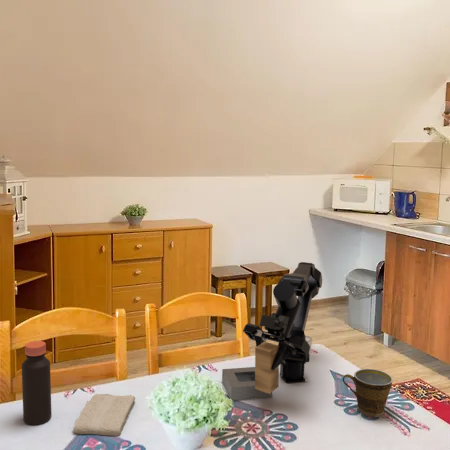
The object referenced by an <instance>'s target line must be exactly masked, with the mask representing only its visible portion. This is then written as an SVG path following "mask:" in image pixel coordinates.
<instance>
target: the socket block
mask: <svg viewBox="0 0 450 450" xmlns="http://www.w3.org/2000/svg"><path fill="white" fill-rule="evenodd" d="M221 372H222V373H221V382H222V385H223V387H224V389H225V391H226V393H227V395H228V397H229V399H230V398H231V399H232V400H233V401H232V402H235V401H247V400H258V399H259V400H261V399H272V398H273V392H272V393H270V394H269V393H266V392H263V391H260V390H257V389H255V366H250V367H249V366H248V367H247V366H246V367H235V368H234V367H233V368H222V370H221Z"/></svg>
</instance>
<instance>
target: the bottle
mask: <svg viewBox="0 0 450 450" xmlns="http://www.w3.org/2000/svg"><path fill="white" fill-rule="evenodd" d="M24 354H25V357H26V359H24V361H23V362H22V363H21V386H22V388H21V389H22V414H23V416H22V417H23V422H24V423H25V424H27V425H30V426H38V425H43V424H45V423H48V422H49V421H50V420H51V418H52V385H51V384H52V383H51V380H52V379H51V361H50V359H48V358H47V357H46V356H45V355H46V354H47V343H46V342H45V341H43V340H33V341H30V342H27V343H26V344H25V345H24Z"/></svg>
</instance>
